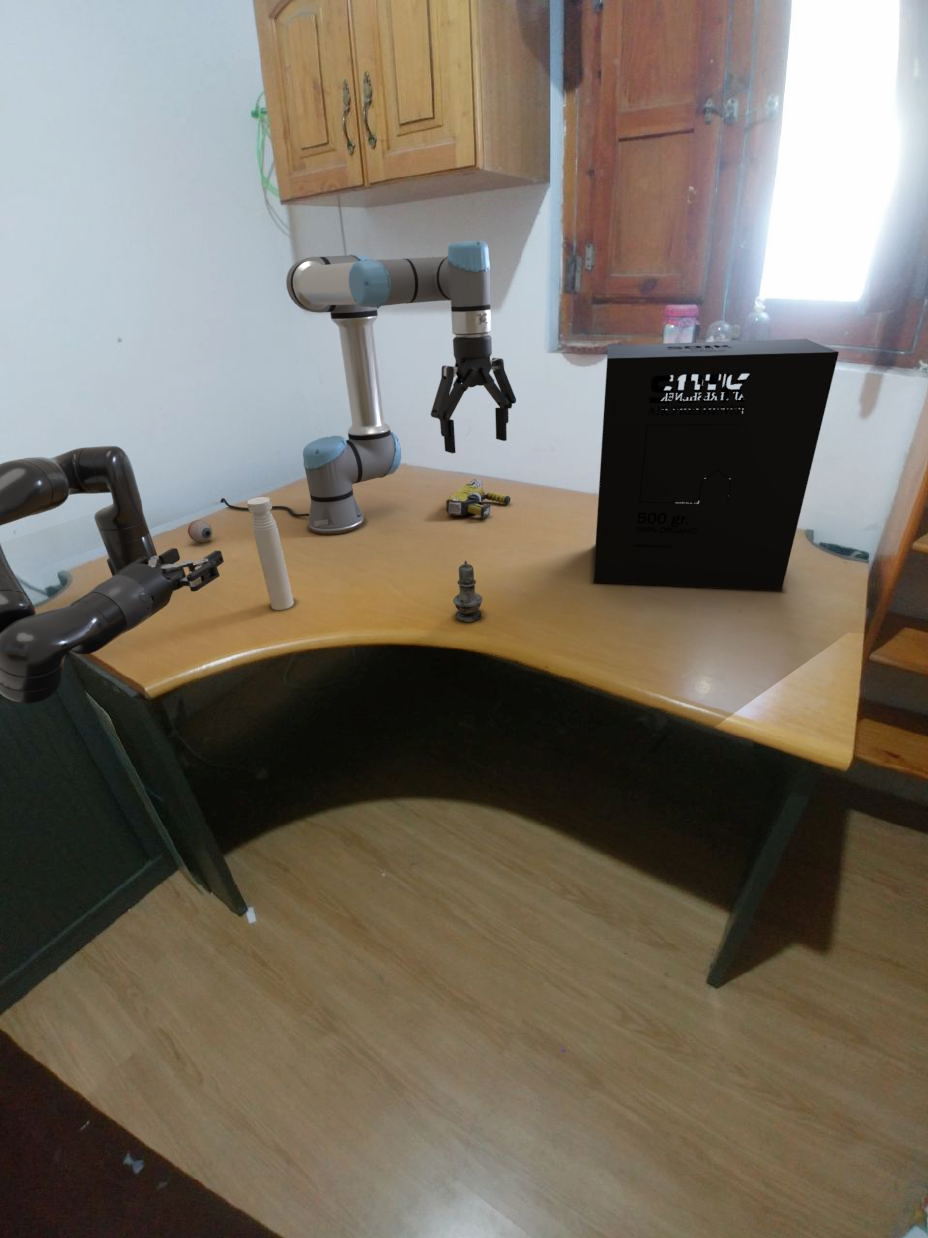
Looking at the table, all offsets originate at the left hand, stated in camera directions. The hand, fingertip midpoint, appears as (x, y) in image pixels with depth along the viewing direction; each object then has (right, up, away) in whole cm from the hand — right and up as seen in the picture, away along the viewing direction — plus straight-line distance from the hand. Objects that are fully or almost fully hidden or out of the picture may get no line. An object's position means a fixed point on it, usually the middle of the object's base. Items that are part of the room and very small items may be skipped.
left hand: (198, 554), depth 100 cm
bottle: (+5, -8, +29) cm, 31 cm away
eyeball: (-26, +10, +63) cm, 69 cm away
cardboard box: (+93, +1, +35) cm, 99 cm away
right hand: (+47, +26, +27) cm, 60 cm away
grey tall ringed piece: (+45, -10, +21) cm, 51 cm away
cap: (+4, +12, +18) cm, 22 cm away
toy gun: (+50, +22, +76) cm, 94 cm away
